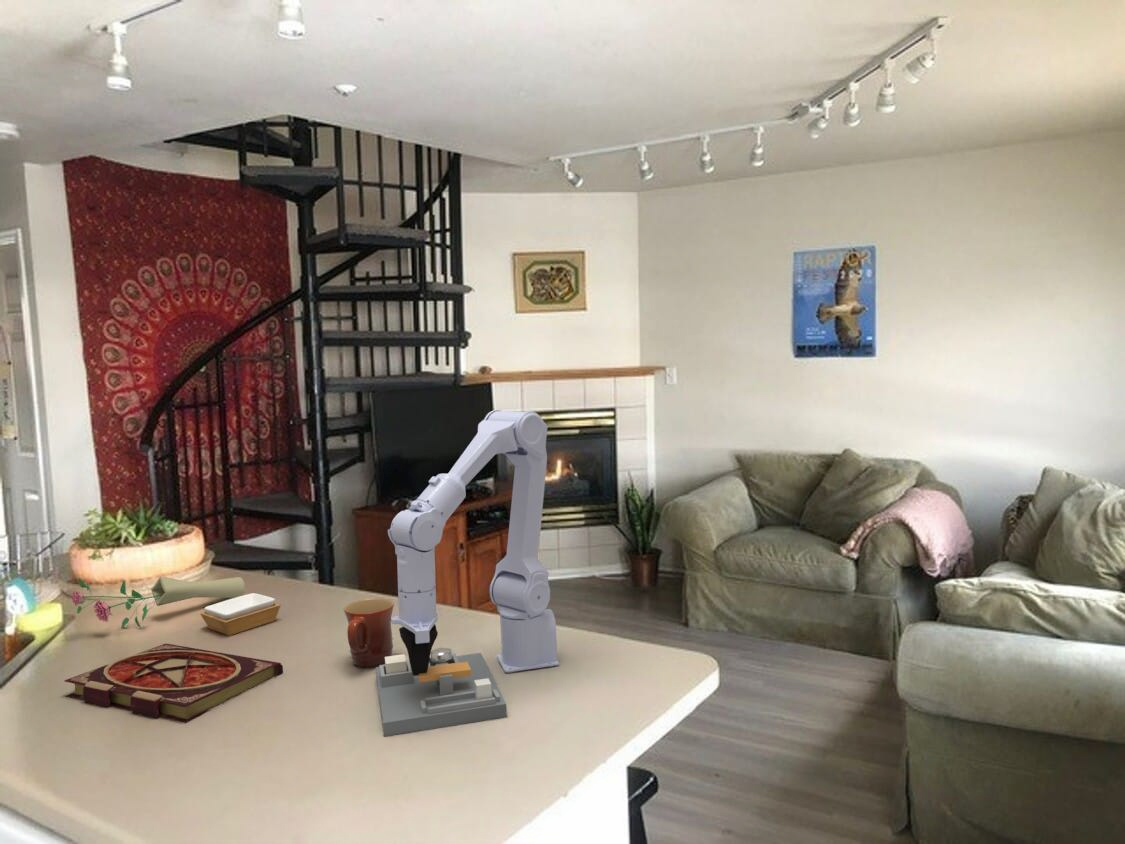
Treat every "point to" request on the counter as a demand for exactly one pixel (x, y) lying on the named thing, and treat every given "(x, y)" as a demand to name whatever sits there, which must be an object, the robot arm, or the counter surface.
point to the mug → (370, 631)
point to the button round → (441, 656)
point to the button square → (395, 664)
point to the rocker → (445, 671)
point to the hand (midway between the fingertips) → (419, 673)
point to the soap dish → (240, 613)
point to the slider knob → (482, 689)
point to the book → (171, 681)
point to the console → (436, 698)
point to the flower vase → (167, 594)
